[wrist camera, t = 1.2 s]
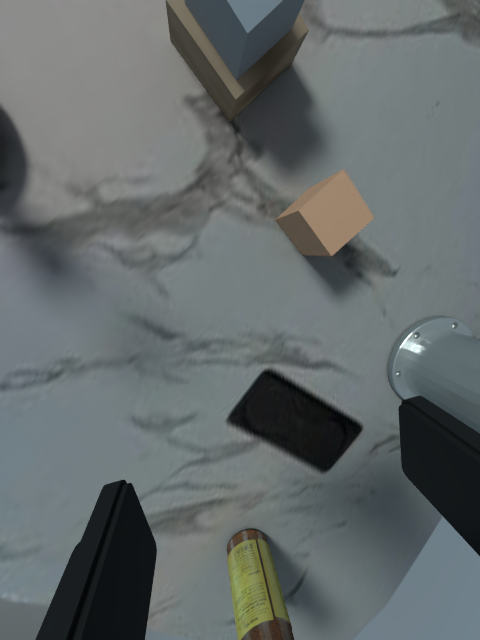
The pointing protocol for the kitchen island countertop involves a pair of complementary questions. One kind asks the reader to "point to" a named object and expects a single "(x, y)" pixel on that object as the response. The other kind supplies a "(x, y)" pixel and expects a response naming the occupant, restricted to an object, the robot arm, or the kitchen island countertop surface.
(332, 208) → the peach rectangular block
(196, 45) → the light brown wooden plinth
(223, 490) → the kitchen island countertop surface
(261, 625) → the sauce bottle
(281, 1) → the slate-grey cube
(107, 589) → the robot arm
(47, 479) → the kitchen island countertop surface
